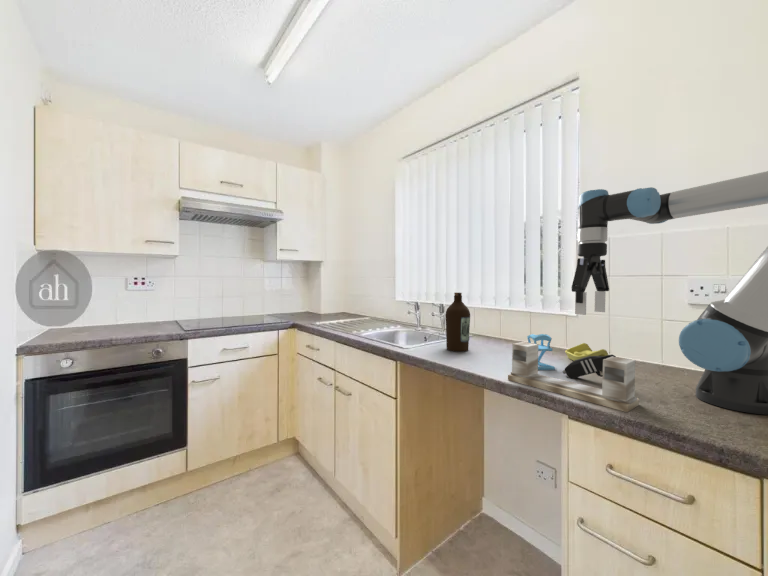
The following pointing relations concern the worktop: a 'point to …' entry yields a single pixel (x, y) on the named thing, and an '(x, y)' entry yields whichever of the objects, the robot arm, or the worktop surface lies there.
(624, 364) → the board
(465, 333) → the olive oil
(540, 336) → the chair
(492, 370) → the worktop surface
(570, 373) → the gun
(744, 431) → the worktop surface
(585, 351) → the plastic component
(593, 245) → the robot arm
